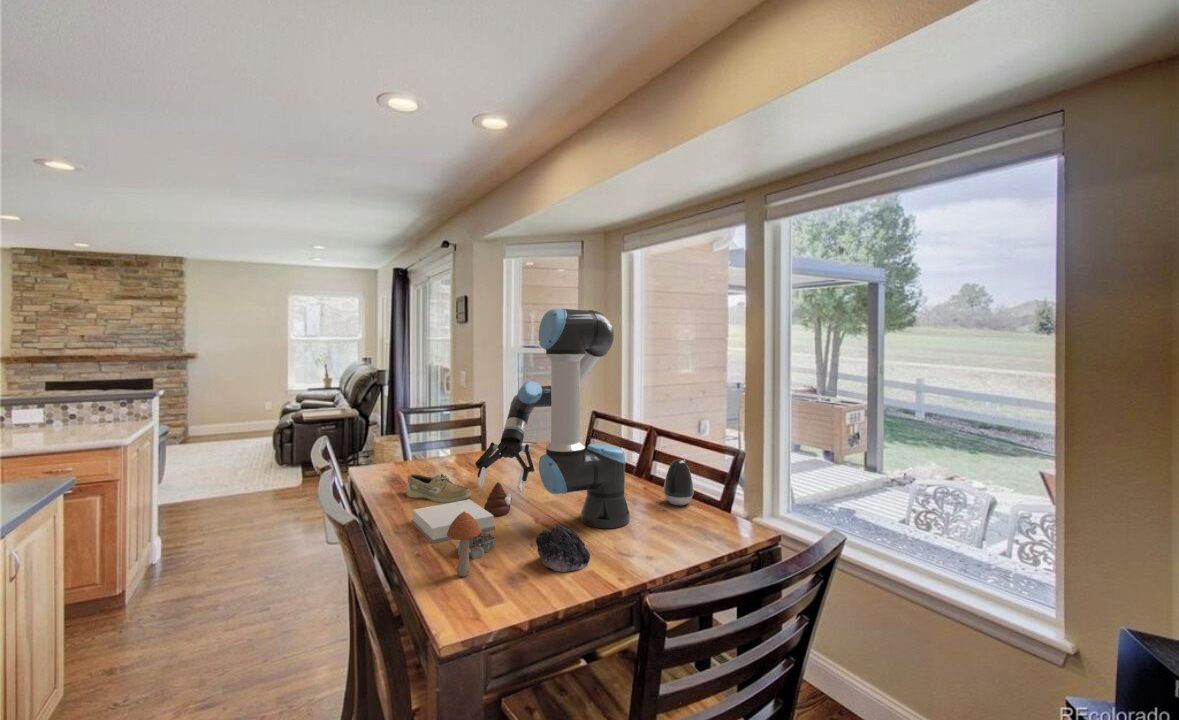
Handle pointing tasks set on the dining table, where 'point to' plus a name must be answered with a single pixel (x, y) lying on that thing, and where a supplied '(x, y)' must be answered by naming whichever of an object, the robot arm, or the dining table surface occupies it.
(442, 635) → the dining table surface
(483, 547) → the stone castle ruin
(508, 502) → the poop emoji
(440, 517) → the podium
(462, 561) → the mushroom
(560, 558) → the crystal cluster
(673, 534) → the dining table surface
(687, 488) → the black egg shaped device
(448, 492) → the boat shoe
